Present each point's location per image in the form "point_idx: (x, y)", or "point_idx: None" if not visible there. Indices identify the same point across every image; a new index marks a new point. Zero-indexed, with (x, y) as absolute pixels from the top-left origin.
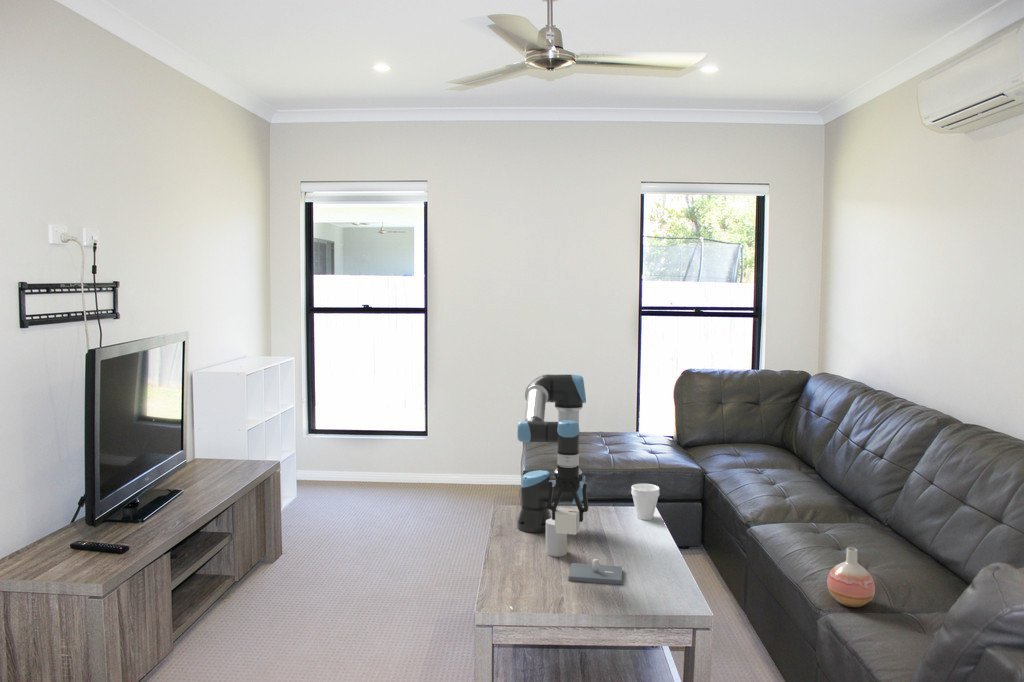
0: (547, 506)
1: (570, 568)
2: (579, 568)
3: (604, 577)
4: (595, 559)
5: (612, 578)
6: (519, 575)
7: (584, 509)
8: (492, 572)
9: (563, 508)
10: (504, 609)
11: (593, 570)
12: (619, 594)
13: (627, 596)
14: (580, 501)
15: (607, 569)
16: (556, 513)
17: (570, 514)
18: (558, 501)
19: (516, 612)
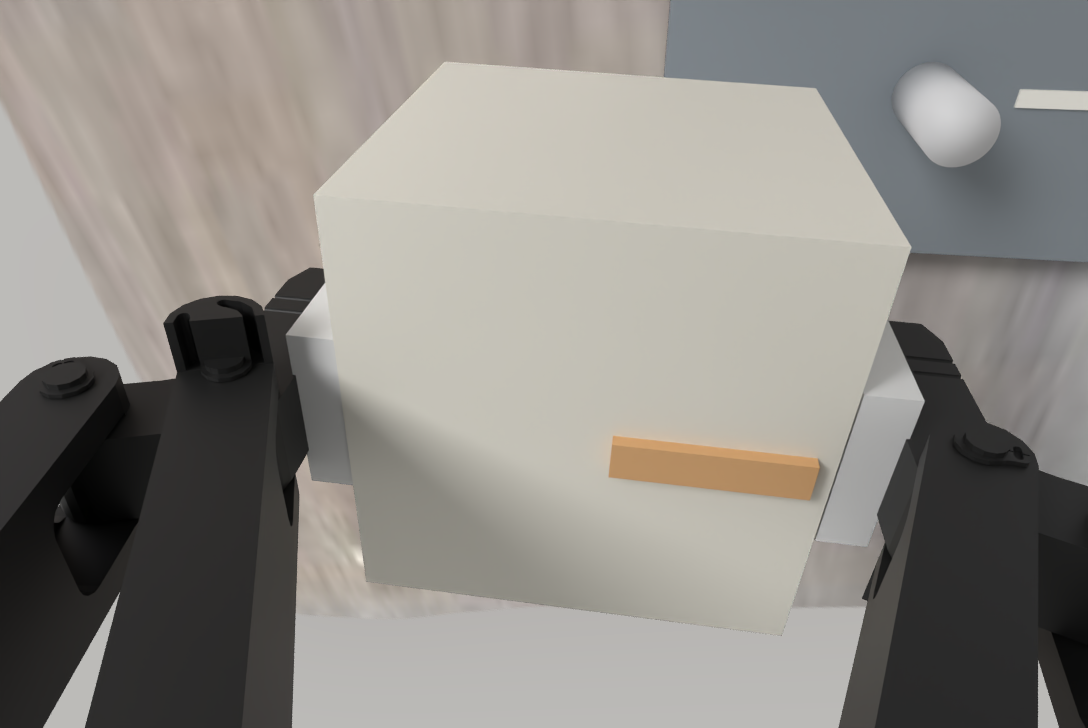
0: (78, 530)
1: (668, 62)
2: (761, 45)
3: (979, 226)
4: (960, 116)
5: (1052, 238)
6: (254, 174)
7: (1038, 641)
8: (38, 146)
9: (447, 226)
10: (339, 577)
11: (900, 120)
12: (1026, 402)
13: (1078, 424)
14: (1035, 650)
15: (1073, 27)
16: (369, 567)
17: (659, 608)
18: (286, 707)
19: (403, 598)
